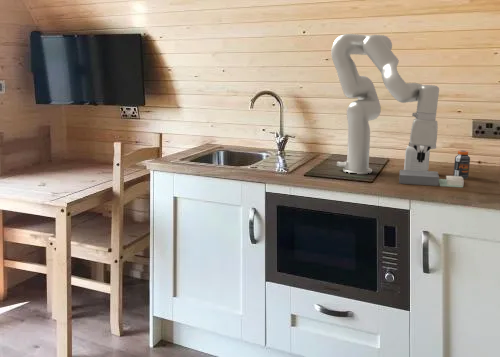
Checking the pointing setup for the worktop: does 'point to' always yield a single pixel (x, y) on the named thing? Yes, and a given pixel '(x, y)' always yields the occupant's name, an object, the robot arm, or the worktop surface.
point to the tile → (454, 180)
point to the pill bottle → (462, 164)
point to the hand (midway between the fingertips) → (420, 161)
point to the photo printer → (415, 160)
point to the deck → (419, 177)
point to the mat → (443, 183)
